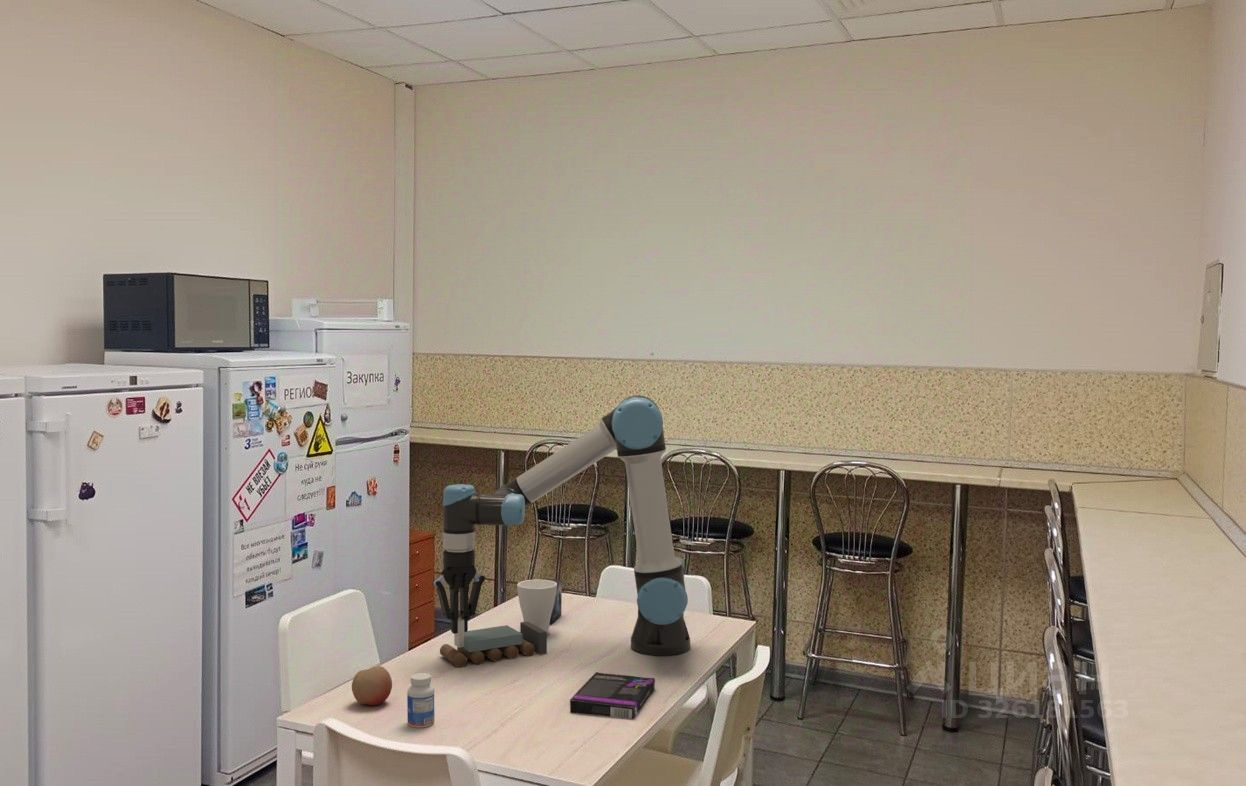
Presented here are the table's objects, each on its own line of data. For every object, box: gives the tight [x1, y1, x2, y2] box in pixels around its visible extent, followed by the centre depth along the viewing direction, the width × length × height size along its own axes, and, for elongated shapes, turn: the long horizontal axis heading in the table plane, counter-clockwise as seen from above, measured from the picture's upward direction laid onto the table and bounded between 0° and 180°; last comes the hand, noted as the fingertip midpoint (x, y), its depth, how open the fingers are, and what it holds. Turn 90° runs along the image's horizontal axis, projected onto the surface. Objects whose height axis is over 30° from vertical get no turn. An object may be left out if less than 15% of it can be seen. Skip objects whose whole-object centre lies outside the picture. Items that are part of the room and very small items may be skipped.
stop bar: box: [519, 621, 548, 656], centre depth 261 cm, size 11×2×6 cm, turn 31°
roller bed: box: [439, 639, 536, 668], centre depth 254 cm, size 10×21×3 cm, turn 121°
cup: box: [516, 579, 557, 636], centre depth 273 cm, size 10×10×14 cm
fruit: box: [351, 665, 393, 707], centre depth 220 cm, size 8×8×8 cm
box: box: [569, 671, 656, 720], centre depth 223 cm, size 14×4×20 cm
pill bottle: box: [406, 672, 436, 729], centre depth 209 cm, size 6×5×10 cm
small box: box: [540, 577, 563, 626], centre depth 288 cm, size 11×6×10 cm, turn 168°
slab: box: [462, 624, 522, 652], centre depth 254 cm, size 9×14×2 cm, turn 121°
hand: (459, 645), depth 250 cm, fingers closed
